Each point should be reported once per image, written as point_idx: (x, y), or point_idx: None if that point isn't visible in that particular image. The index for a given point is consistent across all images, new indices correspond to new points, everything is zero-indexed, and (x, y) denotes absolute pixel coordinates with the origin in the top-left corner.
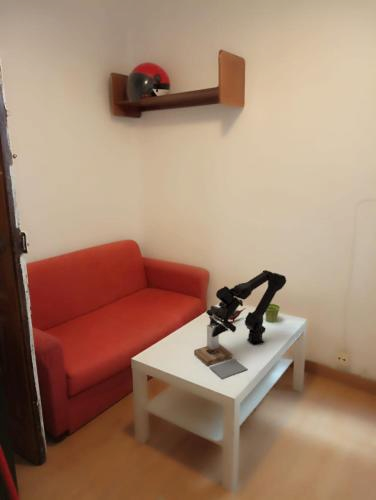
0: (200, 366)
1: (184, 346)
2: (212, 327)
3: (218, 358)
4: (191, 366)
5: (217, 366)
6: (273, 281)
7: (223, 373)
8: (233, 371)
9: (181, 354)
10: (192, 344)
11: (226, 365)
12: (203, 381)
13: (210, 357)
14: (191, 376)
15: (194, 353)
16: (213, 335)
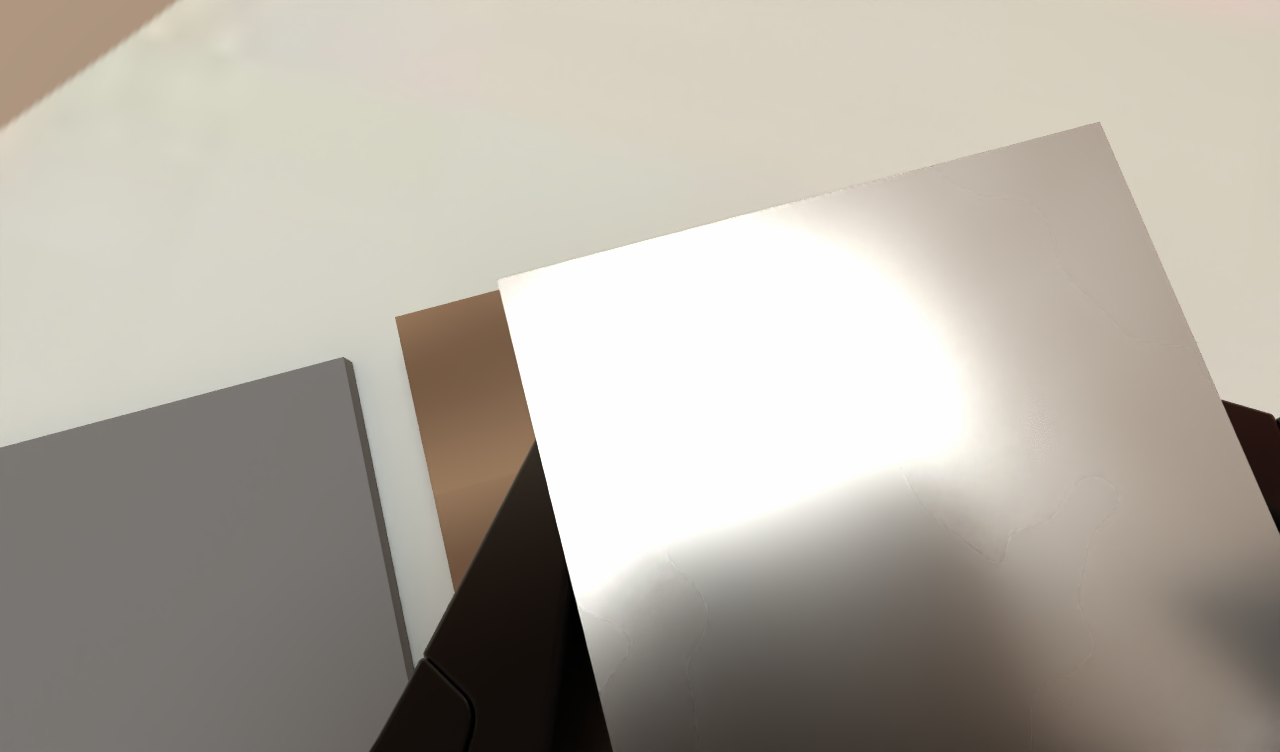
0: (456, 239)
1: (1162, 138)
2: (623, 404)
3: (457, 577)
4: (501, 108)
5: (313, 500)
6: None
7: (72, 533)
8: (56, 738)
9: (899, 39)
10: (1217, 287)
11: (287, 677)
12: (55, 179)
13: (510, 420)
14: (243, 50)
15: None
16: (530, 477)
